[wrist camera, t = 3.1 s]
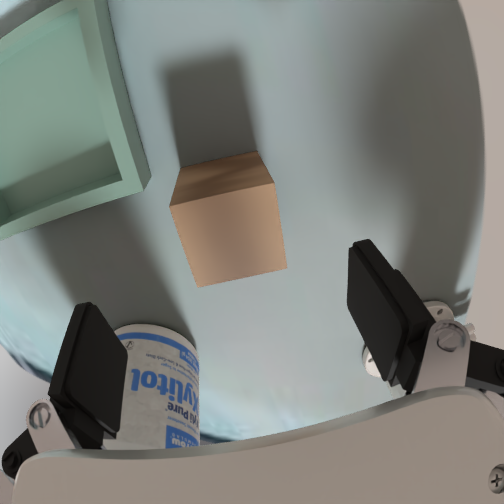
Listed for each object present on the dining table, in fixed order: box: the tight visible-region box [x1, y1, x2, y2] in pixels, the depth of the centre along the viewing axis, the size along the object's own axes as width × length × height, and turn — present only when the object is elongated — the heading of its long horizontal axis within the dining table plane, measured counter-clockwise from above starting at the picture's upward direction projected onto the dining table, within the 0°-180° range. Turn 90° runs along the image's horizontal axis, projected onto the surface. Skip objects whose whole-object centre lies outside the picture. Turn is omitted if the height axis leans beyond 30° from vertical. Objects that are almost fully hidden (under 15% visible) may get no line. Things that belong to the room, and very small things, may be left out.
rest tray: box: [0, 0, 151, 241], centre depth 14 cm, size 13×13×3 cm
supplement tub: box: [103, 324, 200, 450], centre depth 22 cm, size 10×10×15 cm
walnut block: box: [169, 151, 287, 287], centre depth 18 cm, size 5×5×6 cm
